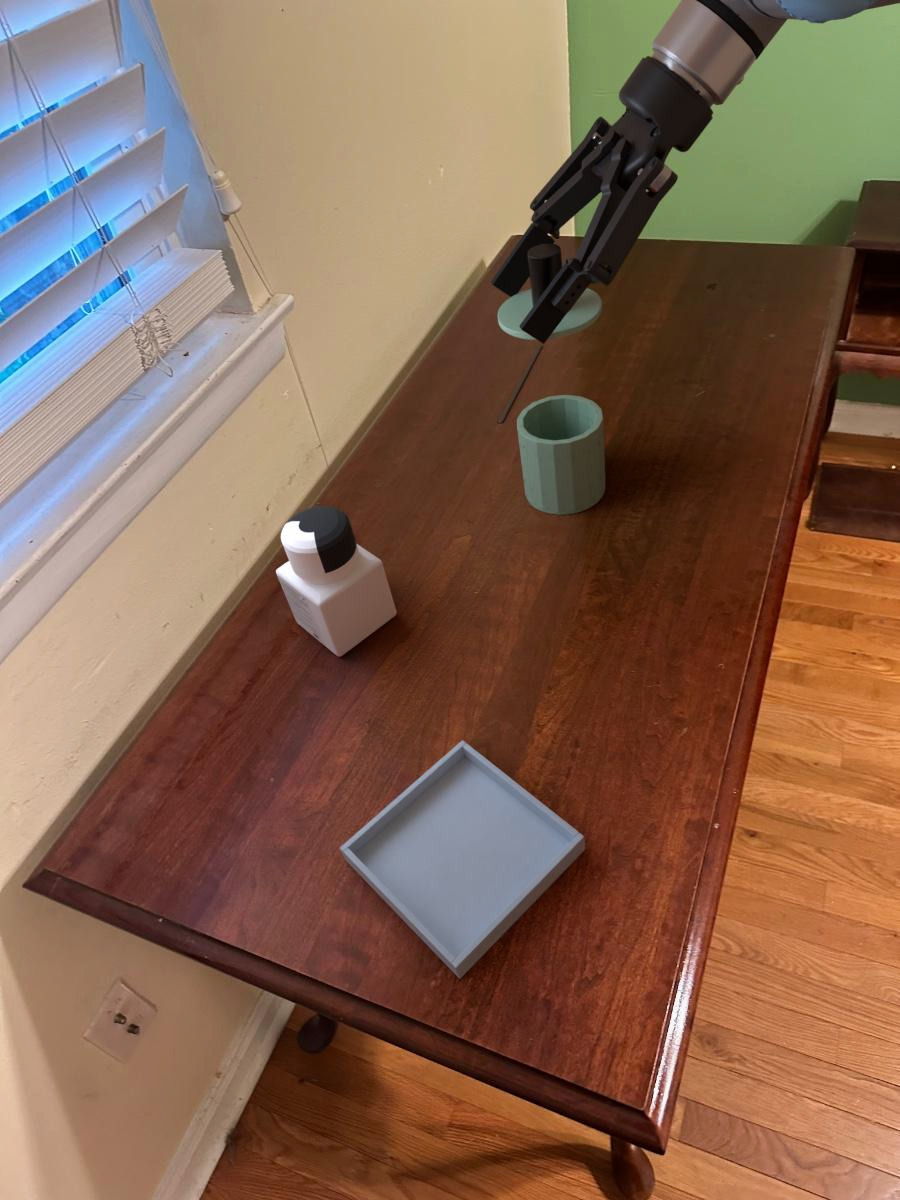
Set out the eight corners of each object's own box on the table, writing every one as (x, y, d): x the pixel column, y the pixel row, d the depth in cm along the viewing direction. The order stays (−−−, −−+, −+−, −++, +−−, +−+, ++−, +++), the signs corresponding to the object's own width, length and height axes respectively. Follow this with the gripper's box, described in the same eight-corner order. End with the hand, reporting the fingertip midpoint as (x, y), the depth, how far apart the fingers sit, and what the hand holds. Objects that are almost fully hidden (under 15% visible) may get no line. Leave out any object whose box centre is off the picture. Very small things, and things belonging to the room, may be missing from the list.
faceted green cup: (621, 483, 96) (620, 411, 89) (568, 525, 92) (562, 454, 86) (561, 456, 101) (556, 386, 94) (509, 494, 98) (499, 425, 91)
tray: (585, 849, 66) (584, 836, 64) (459, 979, 60) (455, 968, 59) (465, 753, 74) (462, 739, 72) (345, 860, 68) (339, 847, 67)
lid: (623, 309, 80) (622, 239, 75) (553, 356, 76) (547, 285, 72) (546, 287, 86) (541, 220, 81) (477, 329, 82) (467, 261, 77)
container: (353, 582, 91) (321, 486, 82) (398, 615, 87) (370, 517, 78) (295, 623, 88) (256, 528, 79) (339, 659, 84) (303, 563, 74)
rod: (497, 425, 108) (496, 421, 108) (538, 348, 120) (537, 344, 120) (502, 426, 108) (501, 421, 108) (542, 348, 120) (542, 344, 119)
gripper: (776, 146, 64) (583, 385, 74) (659, 80, 79) (514, 285, 90) (713, 83, 60) (518, 345, 70) (603, 27, 75) (458, 248, 86)
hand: (516, 311), depth 80 cm, fingers closed on lid, 9 cm apart
